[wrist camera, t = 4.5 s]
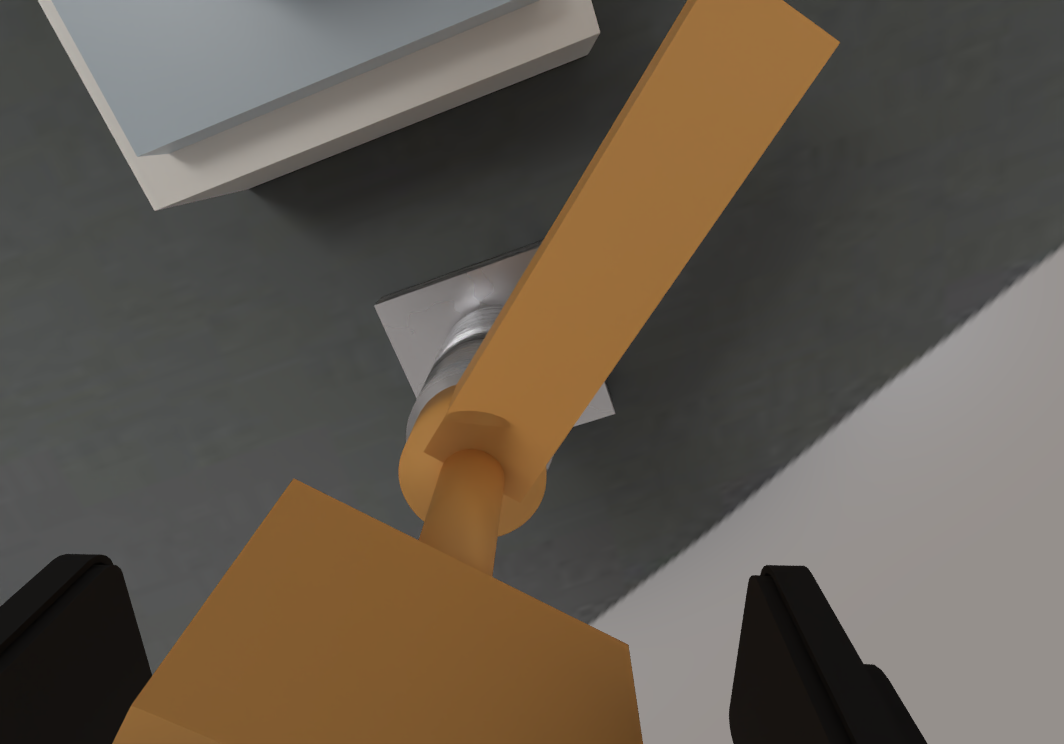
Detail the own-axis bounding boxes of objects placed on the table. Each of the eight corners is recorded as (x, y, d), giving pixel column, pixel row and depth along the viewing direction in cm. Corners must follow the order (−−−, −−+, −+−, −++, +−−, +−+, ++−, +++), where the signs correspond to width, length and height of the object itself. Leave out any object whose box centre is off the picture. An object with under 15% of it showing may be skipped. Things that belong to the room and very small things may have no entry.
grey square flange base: (381, 297, 21) (313, 369, 15) (556, 235, 20) (557, 285, 14) (451, 451, 23) (416, 570, 17) (612, 401, 22) (635, 507, 16)
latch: (618, -82, 11) (837, -731, 3) (877, 104, 12) (1650, 69, 4) (338, 435, 15) (59, 849, 7) (551, 545, 16) (552, 1031, 8)
